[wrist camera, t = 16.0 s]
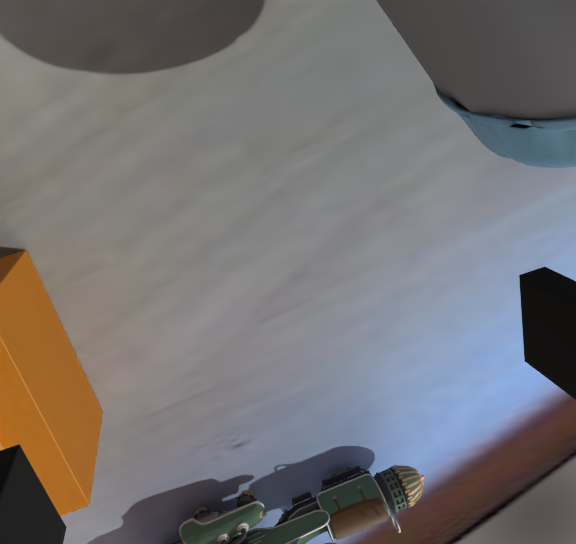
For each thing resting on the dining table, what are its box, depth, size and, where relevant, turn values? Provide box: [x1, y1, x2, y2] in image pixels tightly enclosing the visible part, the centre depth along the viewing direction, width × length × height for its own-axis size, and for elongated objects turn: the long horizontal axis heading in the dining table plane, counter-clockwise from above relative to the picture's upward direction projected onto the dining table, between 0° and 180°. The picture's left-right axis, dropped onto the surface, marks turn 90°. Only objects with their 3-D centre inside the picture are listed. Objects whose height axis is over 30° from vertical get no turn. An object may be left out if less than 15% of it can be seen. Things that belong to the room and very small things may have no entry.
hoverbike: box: [171, 465, 425, 544], centre depth 44 cm, size 10×25×8 cm, turn 106°
